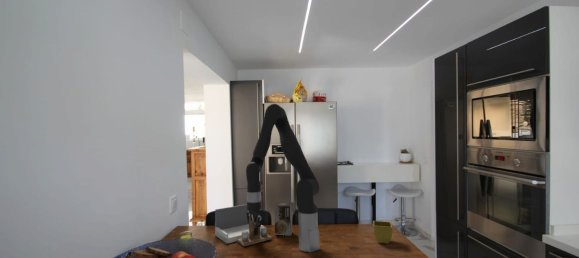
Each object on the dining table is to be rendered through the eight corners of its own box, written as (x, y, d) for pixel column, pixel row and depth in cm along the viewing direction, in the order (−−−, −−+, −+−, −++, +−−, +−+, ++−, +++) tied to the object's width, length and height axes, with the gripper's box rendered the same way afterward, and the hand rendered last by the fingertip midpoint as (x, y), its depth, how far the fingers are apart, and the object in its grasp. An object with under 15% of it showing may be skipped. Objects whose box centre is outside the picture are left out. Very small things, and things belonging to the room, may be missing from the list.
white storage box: (263, 234, 143) (263, 208, 144) (226, 243, 130) (226, 215, 131) (250, 227, 156) (250, 203, 157) (215, 234, 143) (215, 209, 144)
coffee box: (292, 232, 147) (291, 203, 148) (290, 236, 140) (290, 205, 141) (276, 231, 147) (275, 203, 148) (274, 235, 141) (274, 205, 142)
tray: (271, 238, 135) (271, 219, 136) (244, 246, 126) (243, 225, 126) (264, 234, 141) (263, 215, 142) (237, 241, 132) (236, 221, 133)
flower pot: (391, 239, 133) (390, 221, 134) (393, 245, 125) (392, 227, 125) (373, 238, 136) (373, 220, 136) (374, 244, 127) (373, 225, 128)
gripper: (267, 201, 131) (267, 236, 130) (254, 197, 143) (254, 229, 142) (254, 203, 127) (254, 239, 126) (241, 199, 138) (241, 232, 137)
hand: (254, 233), depth 134 cm, fingers closed on tray, 3 cm apart
